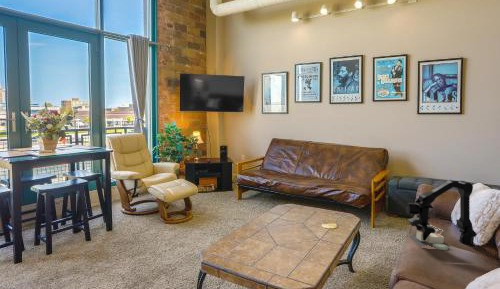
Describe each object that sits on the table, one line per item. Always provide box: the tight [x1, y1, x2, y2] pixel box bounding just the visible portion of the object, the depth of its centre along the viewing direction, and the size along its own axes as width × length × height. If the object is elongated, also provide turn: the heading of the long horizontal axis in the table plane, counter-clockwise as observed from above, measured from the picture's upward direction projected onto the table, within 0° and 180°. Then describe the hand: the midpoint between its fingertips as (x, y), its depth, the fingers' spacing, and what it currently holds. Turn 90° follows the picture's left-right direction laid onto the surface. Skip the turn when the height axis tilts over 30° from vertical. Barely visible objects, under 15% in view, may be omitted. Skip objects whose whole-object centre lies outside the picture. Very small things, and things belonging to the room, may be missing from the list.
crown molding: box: [427, 224, 444, 235], centre depth 225 cm, size 24×1×20 cm
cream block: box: [415, 229, 428, 241], centre depth 204 cm, size 4×6×5 cm, turn 178°
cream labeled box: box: [427, 233, 445, 244], centre depth 203 cm, size 9×6×4 cm, turn 88°
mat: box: [408, 235, 453, 252], centre depth 201 cm, size 17×21×1 cm
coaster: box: [432, 243, 450, 251], centre depth 195 cm, size 8×8×1 cm
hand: (421, 238), depth 204 cm, fingers closed on cream block, 6 cm apart
